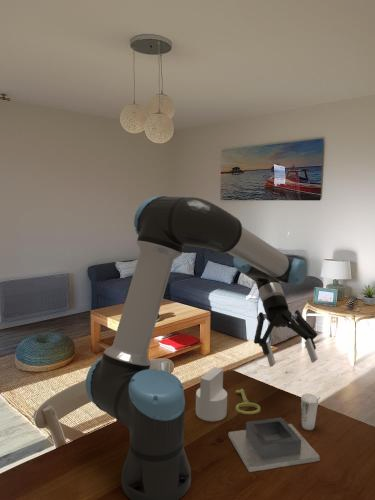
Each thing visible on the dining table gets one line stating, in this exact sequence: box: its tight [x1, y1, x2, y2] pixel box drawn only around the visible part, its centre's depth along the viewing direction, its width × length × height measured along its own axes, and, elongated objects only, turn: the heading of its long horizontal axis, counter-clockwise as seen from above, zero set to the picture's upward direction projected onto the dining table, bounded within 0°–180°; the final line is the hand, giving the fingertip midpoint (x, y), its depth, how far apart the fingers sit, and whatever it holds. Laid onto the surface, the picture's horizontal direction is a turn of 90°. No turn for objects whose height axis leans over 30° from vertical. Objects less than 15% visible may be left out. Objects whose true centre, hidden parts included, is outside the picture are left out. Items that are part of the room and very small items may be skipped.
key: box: [235, 388, 261, 415], centre depth 120 cm, size 7×12×2 cm, turn 22°
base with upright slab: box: [195, 366, 228, 422], centre depth 115 cm, size 9×9×12 cm
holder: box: [228, 417, 321, 473], centre depth 99 cm, size 18×14×5 cm
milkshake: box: [300, 392, 321, 431], centre depth 108 cm, size 4×5×10 cm
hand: (294, 362), depth 117 cm, fingers open, 13 cm apart
